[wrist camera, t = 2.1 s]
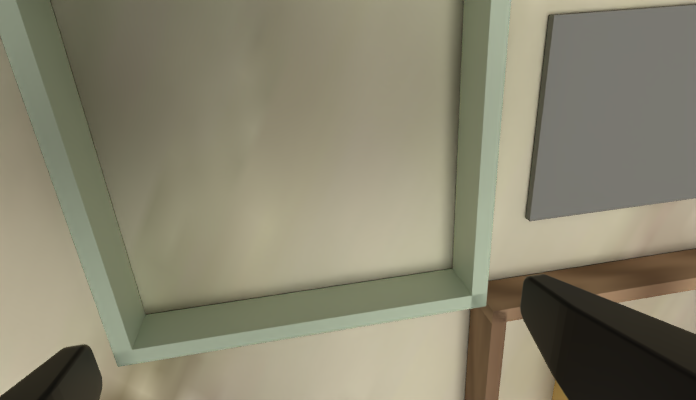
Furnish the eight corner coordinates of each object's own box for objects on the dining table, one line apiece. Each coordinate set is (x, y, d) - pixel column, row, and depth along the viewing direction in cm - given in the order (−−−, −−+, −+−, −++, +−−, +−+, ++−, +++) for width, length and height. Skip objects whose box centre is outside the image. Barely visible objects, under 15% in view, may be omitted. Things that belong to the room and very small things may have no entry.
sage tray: (132, 330, 22) (117, 366, 20) (11, -46, 16) (-33, -56, 13) (465, 278, 25) (486, 306, 22) (485, -69, 18) (517, -79, 16)
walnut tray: (459, 478, 32) (474, 515, 29) (472, 283, 25) (493, 311, 23) (679, 431, 34) (708, 461, 32) (744, 241, 27) (788, 262, 25)
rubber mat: (525, 218, 24) (529, 221, 23) (548, 15, 20) (554, 15, 19) (691, 195, 25) (697, 198, 25) (745, 0, 21) (753, 0, 21)
